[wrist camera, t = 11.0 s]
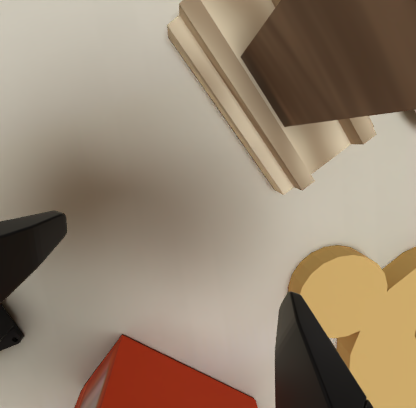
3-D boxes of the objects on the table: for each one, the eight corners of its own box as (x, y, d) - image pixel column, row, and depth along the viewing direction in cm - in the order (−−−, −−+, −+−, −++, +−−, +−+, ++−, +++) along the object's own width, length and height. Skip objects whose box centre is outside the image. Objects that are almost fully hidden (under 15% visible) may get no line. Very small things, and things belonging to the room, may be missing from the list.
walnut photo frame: (284, 127, 19) (462, 103, 7) (240, 56, 18) (372, -129, 5) (315, 102, 19) (555, 33, 7) (274, 29, 17) (489, -228, 5)
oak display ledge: (275, 190, 22) (291, 198, 19) (168, 37, 18) (165, 14, 15) (356, 127, 22) (388, 125, 18) (264, -45, 18) (283, -86, 15)
